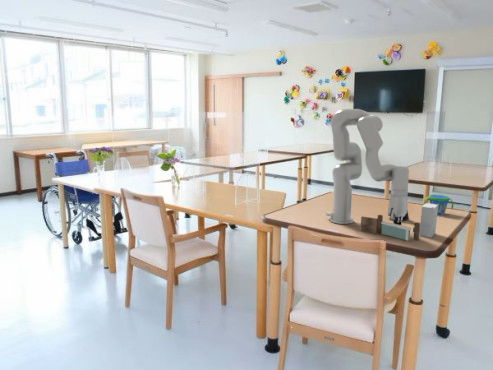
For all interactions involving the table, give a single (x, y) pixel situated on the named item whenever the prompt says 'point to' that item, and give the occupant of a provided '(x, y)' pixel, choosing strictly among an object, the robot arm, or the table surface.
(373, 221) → the gate posts
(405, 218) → the door stopper
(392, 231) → the gate
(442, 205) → the snack cup
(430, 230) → the skincare box
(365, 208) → the table surface
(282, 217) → the table surface
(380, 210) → the table surface
